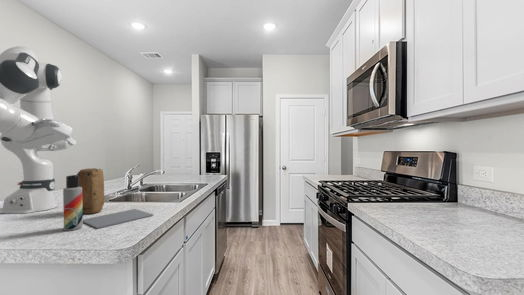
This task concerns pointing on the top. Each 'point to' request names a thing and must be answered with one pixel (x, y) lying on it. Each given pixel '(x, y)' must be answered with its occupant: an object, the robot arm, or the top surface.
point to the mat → (116, 218)
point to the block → (92, 190)
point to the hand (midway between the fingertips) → (64, 146)
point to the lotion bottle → (72, 204)
